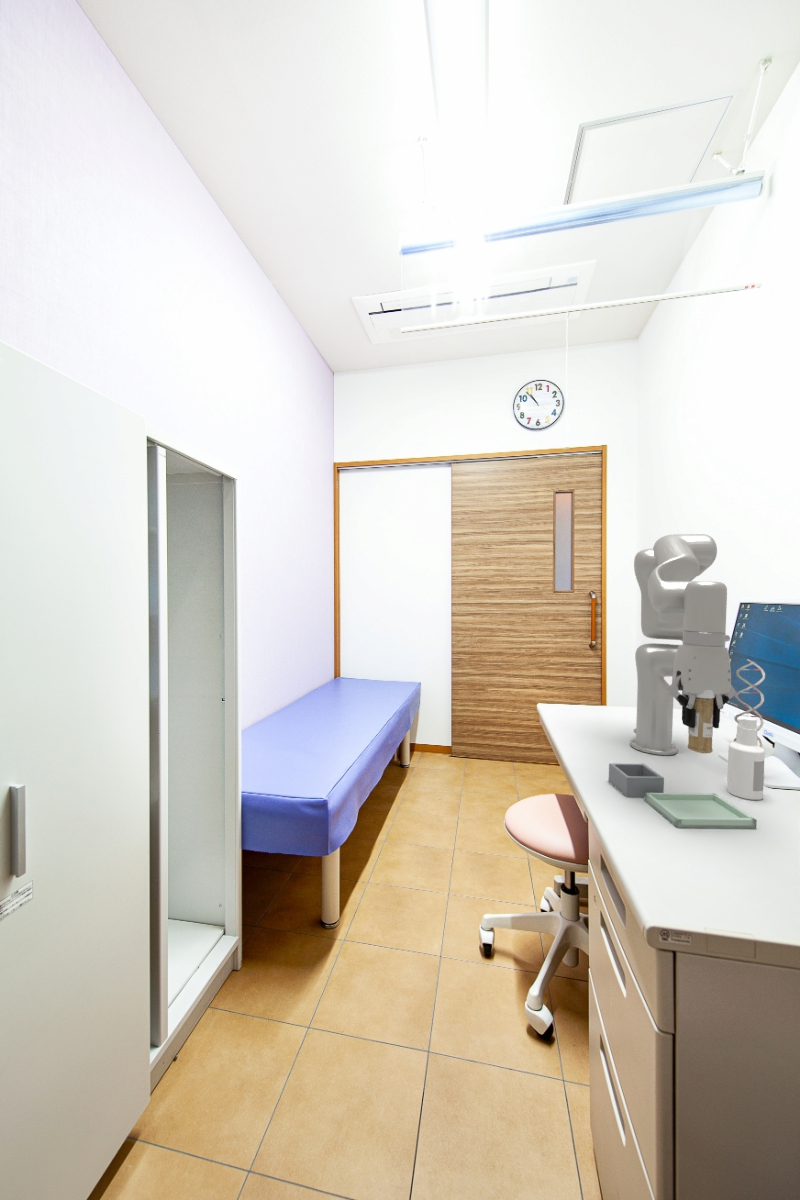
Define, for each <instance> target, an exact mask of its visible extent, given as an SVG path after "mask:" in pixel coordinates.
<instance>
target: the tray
mask: <svg viewBox="0 0 800 1200" xmlns="http://www.w3.org/2000/svg"><path fill="white" fill-rule="evenodd" d="M644 802H646V803H647V804H648V805H649V806H651V807H652V808H653V809H654V810H657V811H656V812H658V813H659V814H660V816H662V815H663V816H662V817H663V818H664V819H666V820H667V821H668V820H669V821H668V822H669V823H670V824H672V825H673V824H674V825H675V826H674V825H673V826H674V827H675V828H677V829H719V830H720V829H725V830H726V829H731V830H734V829H735V830H736V829H737V830H741V829H742V830H744V829H748V830H757V824H758V823H757V819H756V818H754V817H753V816H752V815H749V814H748V813H746V812H745V811H743V810H742V809H740V808H738V807H737V806H735V805H734V804H732V803H731V802H729V801H728V800H725V799H724V798H723V797H721V796H719V795H718V794H717V793H701V792H698V793H697V792H696V793H695V792H693V793H692V792H690V793H689V792H664V793H645V797H644Z"/></svg>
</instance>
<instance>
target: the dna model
mask: <svg viewBox="0 0 800 1200" xmlns="http://www.w3.org/2000/svg"><path fill="white" fill-rule="evenodd" d="M746 661H747V662H749V663H748V664H744V665H743V666H741V667H739V668H738V669H737V670H736V673H735V674H736V677H737V678H739V679H740V680H741V681H743V682H744V683H745V684H746V685H748V687H746V688H743V689H742V690H739V691H736V690H735V691H736V692H737V694H736V695H735V696H734V697H735V699H736V700H737V701H739V703H741V704H742V705H744V706H745V707H746V708H748V710H745V711H743V712H741V713H738V714H736V715H735V716H734V721H735V722H736V723H737V724H738V720H739V716H744V715H746V714H747V715H746V716H747V717H752V718H758V719H759V720H760V724H759V725H758V726H757V729H758V730H757V732H759V731H760V730H761V729H762V728H763V726H764V724H765V723H764V719H763V715H761V714H760V713H759V712H758V711H757V709H758V708H760V707H761V706H762V705H763V703H764V702H765V695H764V693H762V691H761V690H759V689H758V688H757V686H759V685H760V684H761V683H763V682H764V680H765V679H766V673H765V671H764V669H763V668H762V667H761V666H760V665H758V664H757V663H756V662H755V661H752V660H750V659H748V658H747V659H746ZM752 665H754V666H755V668H757V669H750V668H749V669H748V668H747V667H750V666H752ZM741 671H759V672H760V673H761V675H762V678H760V679H759V680H758V681H756V683H753V684H752V683H750V682H749V681H748V680H747V679H745V678H743V677H742V676H741V675H740V672H741ZM750 689H752V690H753V691H756V692H750ZM740 694H752V695H754V694H755V695H756V694H757V695H758V694H759V695H760V701H759V703H758V704H757V705H755V706H754V707H752V706H750V705H749V704H747V702H744V701H743V700H742V699H741V698H740V697H739V695H740ZM751 712H753V713H754V714H755V715H749V713H751ZM757 738H758V742H759V743H758V744H759V746H760V747H761V748H763V742H762V739H761V737H759V736H758V735H757ZM735 741H736V737H735V738H734V739H733V742H735Z"/></svg>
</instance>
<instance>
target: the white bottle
mask: <svg viewBox="0 0 800 1200" xmlns="http://www.w3.org/2000/svg"><path fill="white" fill-rule="evenodd" d="M747 716H748V715H742V716H739V717H738V719H737V720H738V723H737V725H736V737H735V738H736V741H735V742H734V741H731V742H729V744H728V756H727V757H728V758H727V784H726V790H727V791H728V793H729V794H731V795H733V796H736V797H738V798H742V799H745V800H750V801H751V800H752V801H760V800H762V799H763V798H764V781H765V777H764V776H765V775H764V774H765V754H766V750H765V749H764V748H763V747H762V748H761V747H760V745H759V744H758V742H759V740H758V738H757V736H758V731H757V730H758V729H757V728H758V726H757V724H758V723H757V721H758V720H757V718H756V717H751V716H749V717H747Z"/></svg>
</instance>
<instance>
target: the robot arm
mask: <svg viewBox="0 0 800 1200" xmlns="http://www.w3.org/2000/svg"><path fill="white" fill-rule="evenodd" d="M717 554H718V546H717V543H716V541H715V539H714V538H713V537H712V536H710V535H709V534H704V533H703V534H702V533H701V534H698V533H695V534H693V533H689V534H688V533H685V534H684V533H683V534H681V533H680V534H679V533H678V534H675V533H674V534H667V535H664V536H661V537H660V538H658V539H657V540H656V541H655V543H654V545H653V548H646V549H642V550H640V551H638V552H637V553H635V556H634V559H633V560H634V561H633V568H634V575H635V579H636V581H637V584H638V586H639V590H640V595H641V596H640V597H641V598H640V599H641V600H640V627H641V632H642V634H643V636H644V637H646V638H649V639H652V640H653V639H654V640H671V641H672V640H673V641H681V642H682V644H670V643H653V642H652V643H644V644H641V645H640V646H638V647H637V649H636V651H635V656H634V657H635V666H636V673H637V674H636V676H637V697H636V698H637V699H636V726H635V727H636V728H634V729H633V733H635V738H632V739H630V742H629V745H630V747H632V748H633V749H635V750H637V751H639V752H642V753H645V754H646V753H647V754H652V755H657V756H658V755H660V756H672V755H676V754H678V752H679V751H678V750H679V748H678V747H677V746H676V744H675V745H674V743H672V742H673V725H674V723H673V722H674V721H673V718H674V699H675V701H677V702H678V703H679V705H680V706H681V708H682V709H681V721H682V724H683V725H684V726H686V727H690V728H694V727H695V717H696V710H695V709H693V705H694V701H695V697H696V695H699V694H703V693H704V691H706V690H712V691H713V694H714V695H715V697H714V698H713V699H714V700H713V729H720V721H721V710H723V709H724V705H725V704H726V703H728V702H729V700H730V699H732V698H734V697H735V695H736V694H737V692H736V688H734V686H733V684H732V667H731V660H730V653H729V649H728V647H726V642H730V640H731V638H730V637H731V636H730V635H729V634H726V633H727V631H726V629H727V608H728V607H727V606H728V605H727V604H728V602H727V601H728V587H727V586H726V584H725V583H723V582H721V581H696V580H695V581H694V579H695V578H697V577H698V576H701V575H702V574H703V573H704V572H705V571H707V570H708V569H709V568H710V567H711V566H712V565H713V564H714V562H715V561H716V558H717ZM665 677H668V678H669V677H670V678H672V679H671V684H669V683H668V682H667V681H666V680H665ZM679 691H682V692H681V693H680V692H679Z"/></svg>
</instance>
